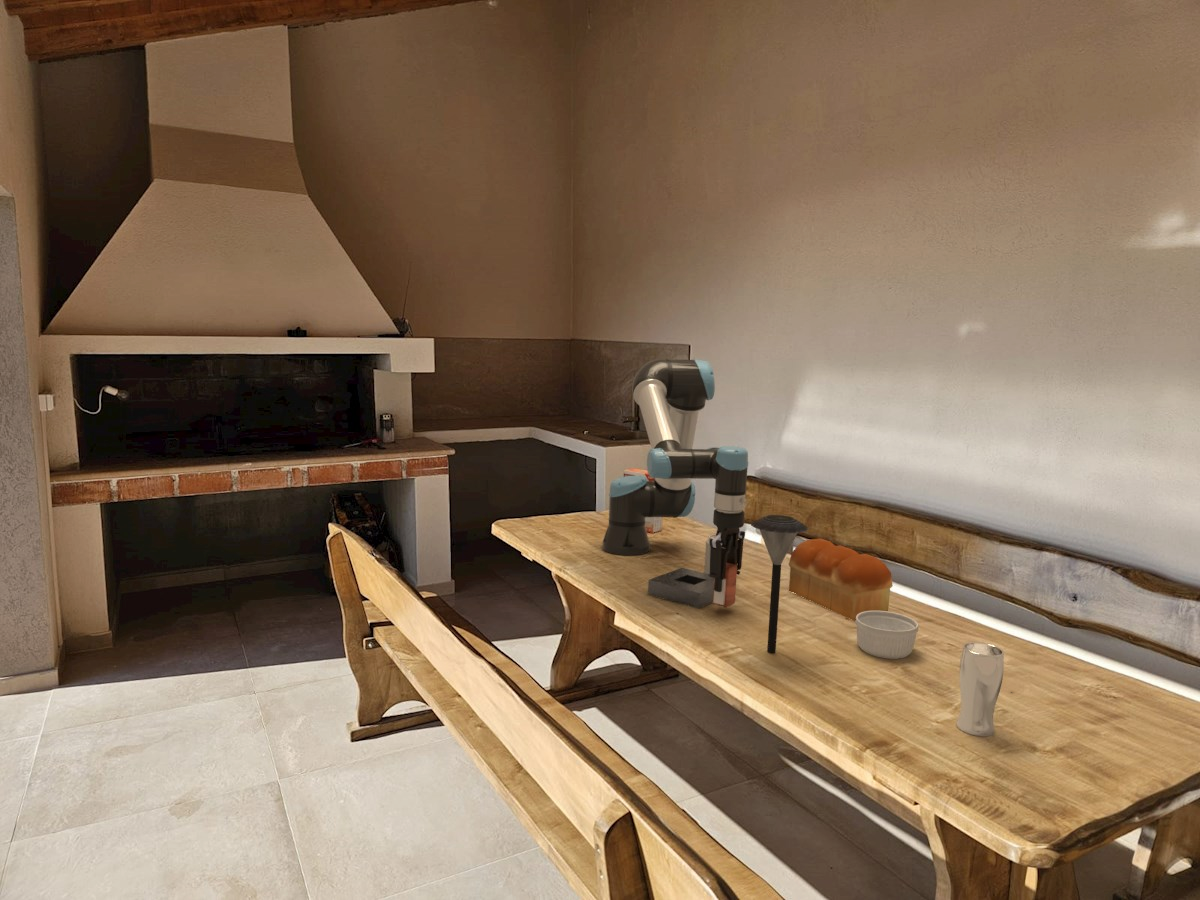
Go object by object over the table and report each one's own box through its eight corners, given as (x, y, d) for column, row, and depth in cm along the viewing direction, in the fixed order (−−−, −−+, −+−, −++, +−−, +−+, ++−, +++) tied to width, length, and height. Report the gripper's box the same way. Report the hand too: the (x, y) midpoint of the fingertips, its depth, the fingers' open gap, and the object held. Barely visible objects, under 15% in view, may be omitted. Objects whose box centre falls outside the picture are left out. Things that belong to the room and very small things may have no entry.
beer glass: (946, 719, 148) (954, 641, 146) (983, 719, 149) (991, 641, 146) (966, 738, 141) (975, 656, 139) (1004, 738, 142) (1013, 656, 140)
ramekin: (875, 663, 173) (878, 632, 172) (841, 641, 186) (844, 612, 185) (928, 659, 177) (931, 628, 176) (891, 637, 189) (894, 608, 188)
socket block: (647, 594, 215) (648, 579, 214) (681, 581, 227) (682, 567, 226) (699, 608, 205) (699, 593, 204) (731, 594, 217) (732, 579, 216)
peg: (712, 603, 202) (714, 564, 201) (721, 599, 205) (723, 561, 204) (726, 607, 200) (728, 568, 198) (734, 603, 203) (737, 565, 201)
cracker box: (620, 526, 289) (622, 469, 286) (631, 524, 294) (633, 467, 291) (652, 534, 280) (654, 474, 278) (662, 531, 285) (665, 472, 282)
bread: (786, 591, 221) (790, 539, 219) (821, 586, 227) (825, 535, 225) (853, 621, 199) (857, 563, 197) (890, 615, 205) (894, 558, 203)
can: (729, 574, 236) (731, 533, 234) (731, 581, 228) (733, 540, 226) (703, 572, 236) (705, 532, 235) (704, 580, 229) (706, 538, 227)
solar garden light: (806, 663, 172) (816, 525, 167) (748, 662, 172) (757, 524, 167) (792, 641, 184) (801, 512, 180) (738, 640, 184) (746, 511, 179)
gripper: (724, 518, 190) (719, 613, 193) (759, 507, 203) (753, 596, 206) (697, 512, 194) (692, 605, 198) (733, 502, 208) (728, 589, 211)
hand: (723, 600), depth 202 cm, fingers closed on peg, 4 cm apart
